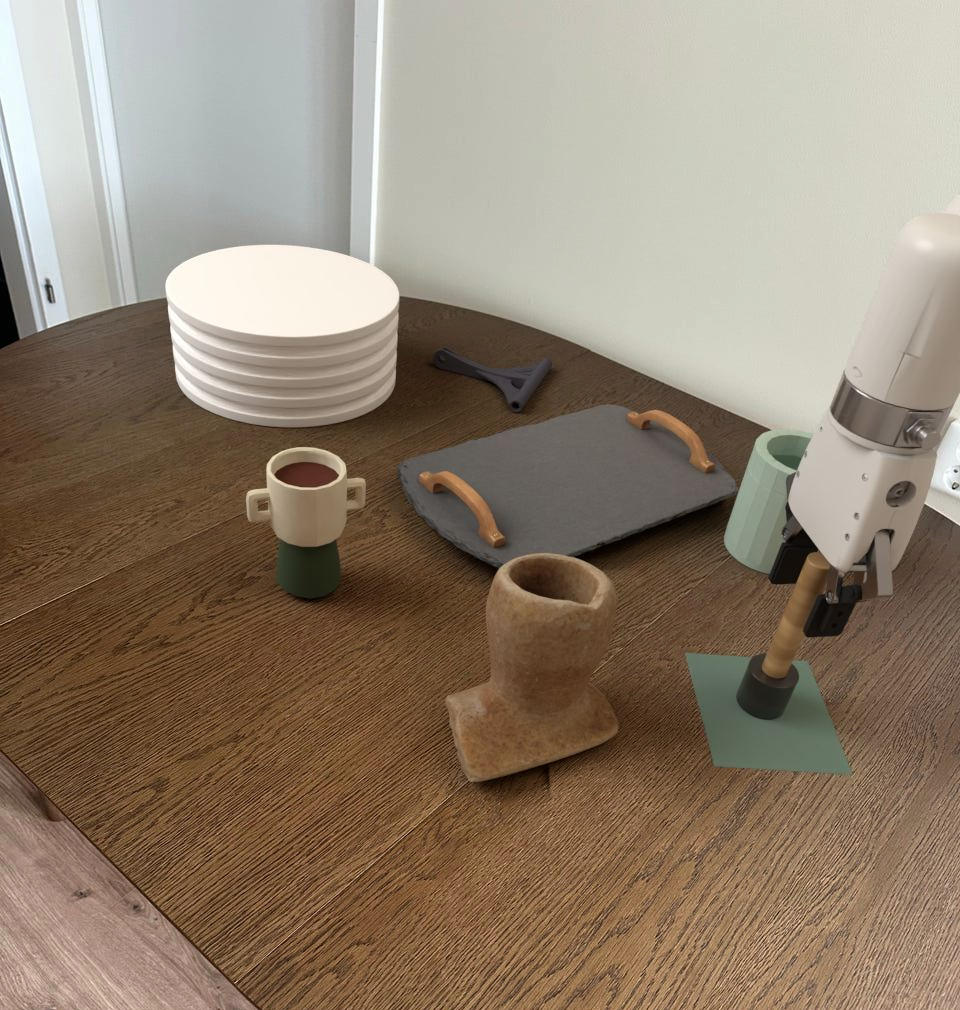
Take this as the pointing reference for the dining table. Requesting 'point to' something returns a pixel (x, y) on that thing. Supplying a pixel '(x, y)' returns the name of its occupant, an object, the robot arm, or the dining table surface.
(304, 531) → the character mug
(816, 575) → the wood and black rod
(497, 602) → the stone cup
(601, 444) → the serving tray
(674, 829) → the dining table surface
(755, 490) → the jar
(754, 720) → the mat
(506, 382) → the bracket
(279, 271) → the plate stack
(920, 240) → the robot arm
